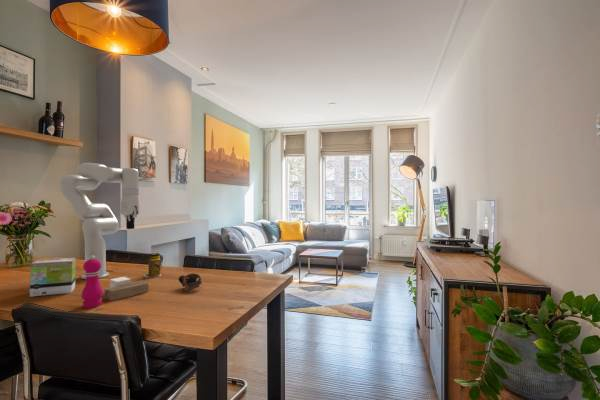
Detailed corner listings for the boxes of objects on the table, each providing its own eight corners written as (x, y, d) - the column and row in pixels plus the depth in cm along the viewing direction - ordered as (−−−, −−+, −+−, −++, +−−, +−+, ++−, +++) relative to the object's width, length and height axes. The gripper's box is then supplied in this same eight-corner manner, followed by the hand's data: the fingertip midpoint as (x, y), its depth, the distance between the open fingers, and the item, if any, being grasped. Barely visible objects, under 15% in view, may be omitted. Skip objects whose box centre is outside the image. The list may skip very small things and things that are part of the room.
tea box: (29, 297, 134) (29, 263, 134) (35, 291, 143) (35, 259, 143) (72, 293, 141) (72, 260, 141) (76, 287, 150) (75, 256, 150)
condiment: (162, 275, 173) (162, 254, 173) (145, 277, 168) (145, 255, 168) (159, 273, 179) (159, 252, 179) (143, 275, 174) (143, 253, 174)
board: (104, 298, 135) (104, 288, 134) (141, 289, 147) (141, 280, 147) (110, 300, 131) (110, 291, 131) (148, 291, 144) (148, 282, 144)
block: (110, 292, 143) (109, 279, 143) (123, 289, 148) (123, 276, 148) (117, 295, 139) (117, 281, 139) (131, 292, 144) (131, 279, 143)
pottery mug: (205, 286, 154) (205, 274, 150) (195, 300, 146) (195, 288, 142) (183, 279, 156) (183, 267, 152) (172, 292, 148) (171, 280, 144)
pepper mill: (88, 302, 129) (88, 253, 129) (106, 302, 130) (106, 253, 129) (77, 308, 122) (77, 257, 121) (96, 308, 122) (96, 257, 122)
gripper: (115, 192, 161) (115, 228, 161) (130, 192, 152) (130, 230, 152) (130, 192, 167) (130, 227, 167) (145, 192, 158) (145, 229, 158)
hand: (130, 228), depth 160 cm, fingers closed
